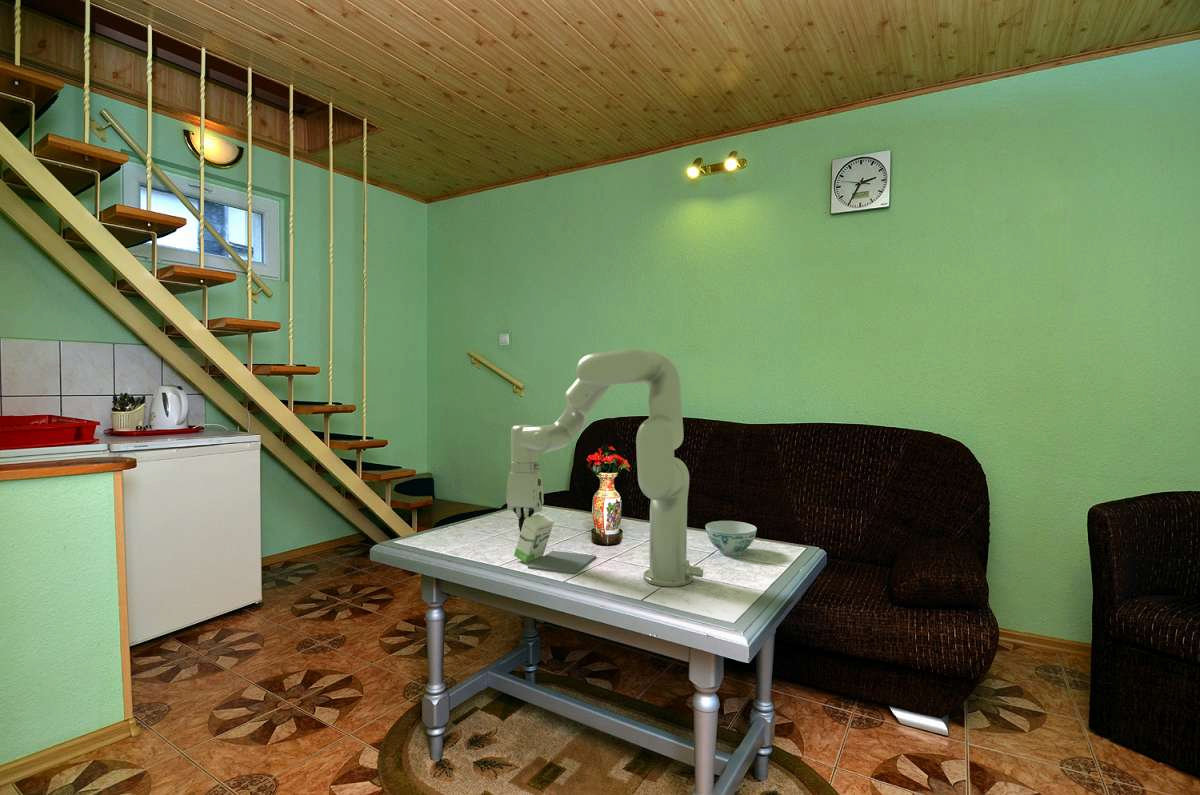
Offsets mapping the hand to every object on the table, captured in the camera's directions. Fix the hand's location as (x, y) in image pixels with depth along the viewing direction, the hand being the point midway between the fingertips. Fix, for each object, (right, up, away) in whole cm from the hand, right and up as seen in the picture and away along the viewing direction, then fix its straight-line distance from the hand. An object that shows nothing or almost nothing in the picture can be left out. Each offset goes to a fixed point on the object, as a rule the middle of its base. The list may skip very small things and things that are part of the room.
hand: (524, 530), depth 169 cm
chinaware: (+61, -8, +7) cm, 62 cm away
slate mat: (+11, -8, -4) cm, 14 cm away
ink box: (+1, -7, 0) cm, 7 cm away
